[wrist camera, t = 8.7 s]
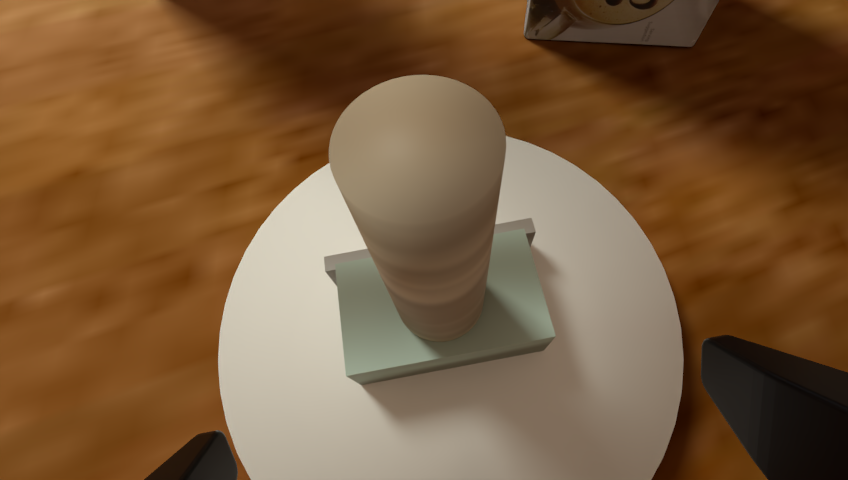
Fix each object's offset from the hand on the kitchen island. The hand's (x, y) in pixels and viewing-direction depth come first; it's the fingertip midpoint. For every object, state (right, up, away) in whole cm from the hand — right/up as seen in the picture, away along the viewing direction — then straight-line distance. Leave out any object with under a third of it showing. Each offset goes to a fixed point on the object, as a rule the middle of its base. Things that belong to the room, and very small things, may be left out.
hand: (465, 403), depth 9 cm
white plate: (0, -1, +11) cm, 11 cm away
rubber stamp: (0, 0, +10) cm, 10 cm away
